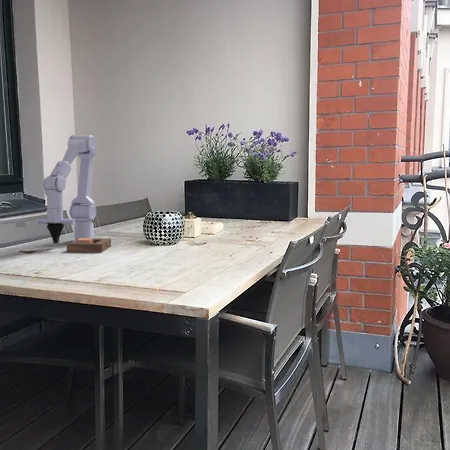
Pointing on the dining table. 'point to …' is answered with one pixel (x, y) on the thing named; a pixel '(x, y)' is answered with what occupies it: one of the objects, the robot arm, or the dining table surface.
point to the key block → (84, 240)
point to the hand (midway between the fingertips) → (56, 242)
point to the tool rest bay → (90, 246)
